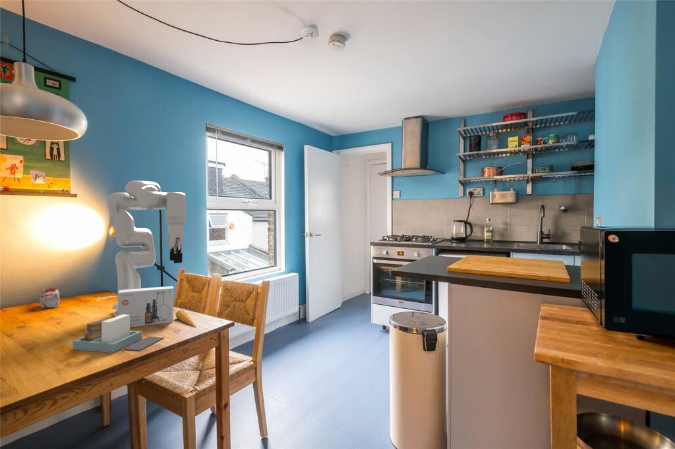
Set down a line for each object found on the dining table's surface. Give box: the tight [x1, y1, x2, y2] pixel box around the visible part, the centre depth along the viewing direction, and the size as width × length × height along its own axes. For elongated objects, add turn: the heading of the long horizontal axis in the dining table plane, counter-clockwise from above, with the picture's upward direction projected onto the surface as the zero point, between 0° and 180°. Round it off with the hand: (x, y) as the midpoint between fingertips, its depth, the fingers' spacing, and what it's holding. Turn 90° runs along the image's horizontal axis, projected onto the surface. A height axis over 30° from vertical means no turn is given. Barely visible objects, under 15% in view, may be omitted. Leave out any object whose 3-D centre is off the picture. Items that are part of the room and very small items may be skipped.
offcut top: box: [86, 318, 108, 331], centre depth 119 cm, size 4×6×2 cm, turn 164°
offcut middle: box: [83, 329, 102, 340], centre depth 119 cm, size 4×8×3 cm, turn 173°
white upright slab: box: [102, 314, 131, 343], centre depth 117 cm, size 3×9×10 cm, turn 171°
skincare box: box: [117, 285, 174, 328], centre depth 141 cm, size 21×5×16 cm, turn 117°
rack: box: [72, 330, 143, 354], centre depth 118 cm, size 16×13×3 cm
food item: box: [39, 287, 61, 310], centre depth 167 cm, size 14×8×10 cm, turn 43°
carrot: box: [175, 309, 197, 328], centre depth 143 cm, size 20×4×4 cm, turn 46°
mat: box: [123, 336, 164, 352], centre depth 118 cm, size 6×12×1 cm, turn 171°
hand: (175, 261), depth 134 cm, fingers open, 9 cm apart
